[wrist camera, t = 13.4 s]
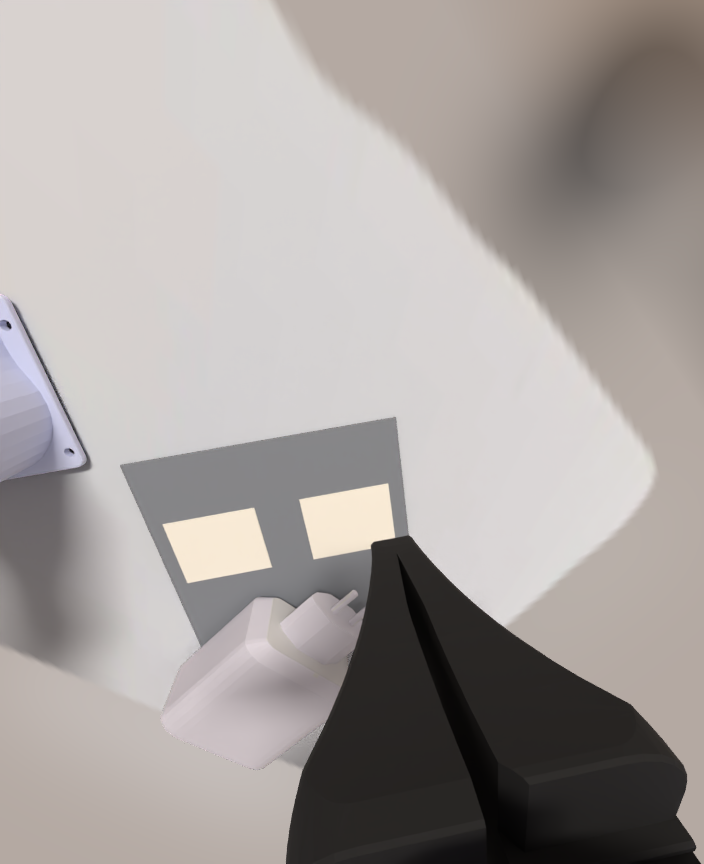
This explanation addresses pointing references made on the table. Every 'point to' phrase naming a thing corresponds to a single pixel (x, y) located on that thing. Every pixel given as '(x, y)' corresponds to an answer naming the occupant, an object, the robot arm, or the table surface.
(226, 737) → the charger
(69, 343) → the table surface
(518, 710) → the robot arm
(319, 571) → the label mat
